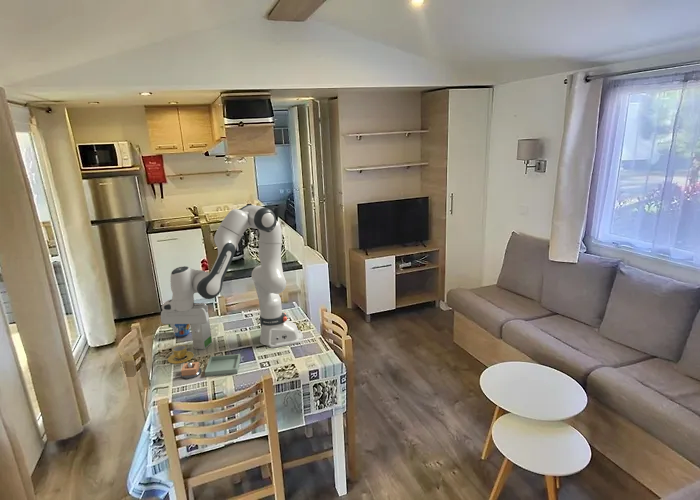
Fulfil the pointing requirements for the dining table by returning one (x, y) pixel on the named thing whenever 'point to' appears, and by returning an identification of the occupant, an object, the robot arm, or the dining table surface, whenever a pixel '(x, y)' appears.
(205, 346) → the grey tall box
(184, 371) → the orange hollow square block
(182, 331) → the snack cup
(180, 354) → the cup
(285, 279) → the robot arm
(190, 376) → the silver knobbed lid
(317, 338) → the dining table surface
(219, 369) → the tray
